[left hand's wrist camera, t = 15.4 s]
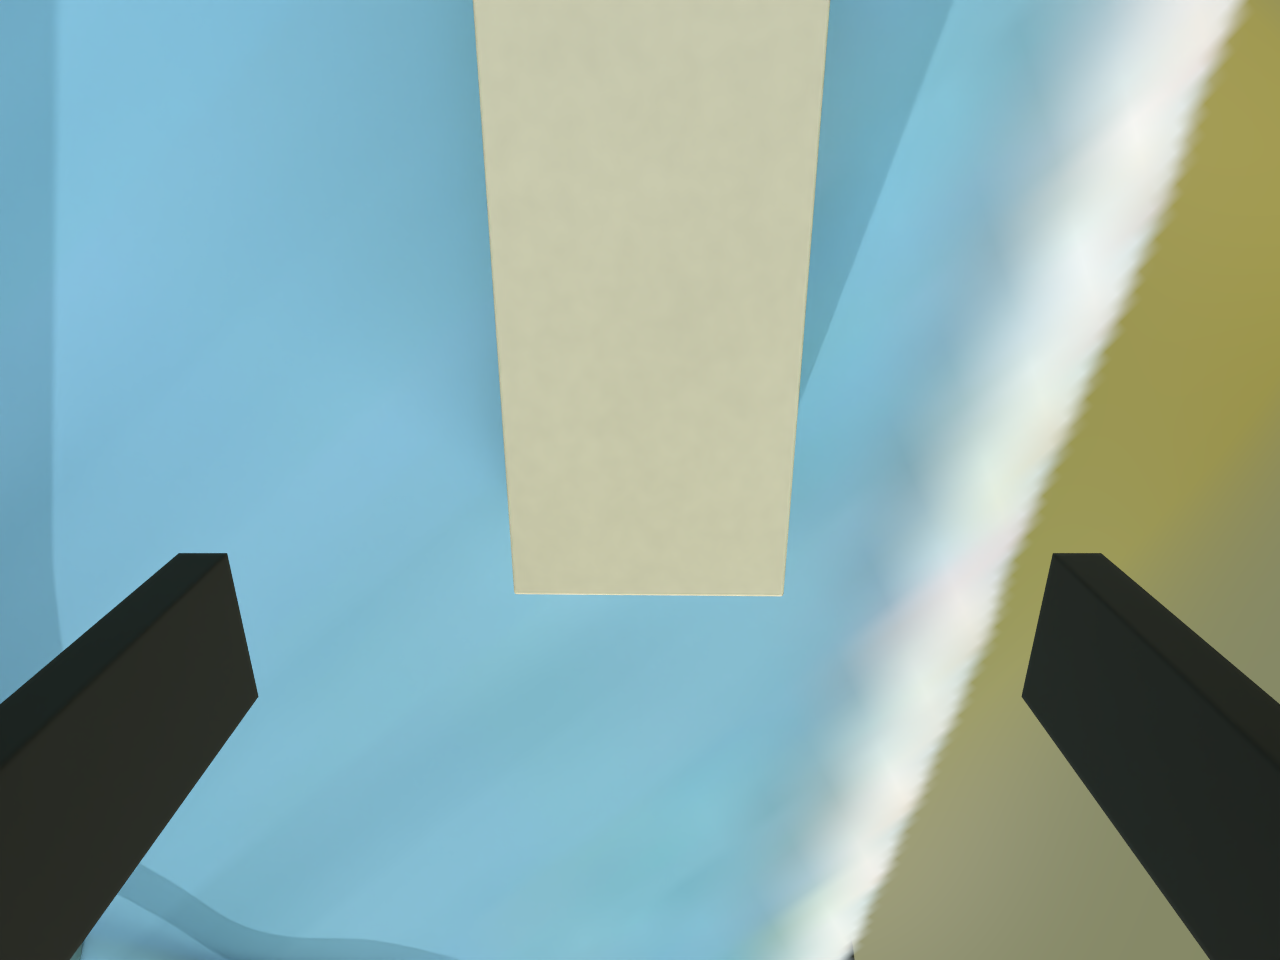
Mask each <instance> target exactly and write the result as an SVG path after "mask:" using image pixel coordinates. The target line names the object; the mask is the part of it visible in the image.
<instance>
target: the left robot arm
mask: <svg viewBox="0 0 1280 960" xmlns="http://www.w3.org/2000/svg"><path fill="white" fill-rule="evenodd" d="M257 698H258V693H257V688H256V683H255V679H254V674H253V670H252V665H251V661H250V656H249V651H248V647H247V642H246V638H245V633H244V629H243V624H242V619H241V615H240V610H239V606H238V601H237V597H236V592H235V587H234V583H233V578H232V574H231V569H230V565H229V560H228V555H227V553H179V554H177V555H176V556H175V557H174V558H173V559H172V560H170V561H169V562H168V563H167V564H166V565H164V566H163V567H162V568H161V569H160V570H159V571H157V572H156V573H155V574H154V575H153V576H151V577H150V578H149V579H148V580H147V581H146V582H144V583H143V584H142V585H141V586H140V587H138V588H137V589H136V590H135V591H134V592H133V593H131V594H130V595H129V596H128V597H127V598H125V599H124V600H123V601H122V602H121V603H120V604H118V605H117V606H116V607H115V608H114V609H112V610H111V611H110V612H109V613H108V614H107V615H105V616H104V617H103V618H102V619H101V620H99V621H98V622H97V623H96V624H95V625H93V626H92V627H91V628H90V629H89V630H88V631H86V632H85V633H84V634H83V635H82V636H80V637H79V638H78V639H77V640H76V641H75V642H73V643H72V644H71V645H70V646H69V647H67V648H66V649H65V650H64V651H63V652H62V653H60V654H59V655H58V656H57V657H56V658H54V659H53V660H52V661H51V662H50V663H49V664H47V665H46V666H45V667H44V668H43V669H41V670H40V671H39V672H38V673H37V674H36V675H34V676H33V677H32V678H31V679H30V680H28V681H27V682H26V683H25V684H24V685H23V686H21V687H20V688H19V689H18V690H17V691H15V692H14V693H13V694H12V695H11V696H10V697H8V698H7V699H6V700H5V701H4V702H2V703H1V704H0V960H80V957H81V952H82V942H83V941H84V939H85V938H86V937H87V935H88V934H89V932H90V931H91V930H92V928H93V927H94V925H95V924H96V923H97V921H98V920H99V918H100V917H101V916H102V914H103V913H104V911H105V910H106V909H107V907H108V906H109V904H110V903H111V902H112V900H113V899H114V897H115V896H116V895H117V893H118V892H119V891H120V889H121V888H122V886H123V885H124V884H125V882H126V881H127V879H128V878H129V877H130V875H131V874H132V872H133V871H134V870H135V868H136V867H137V865H138V864H139V863H140V861H141V860H142V858H143V857H144V856H145V854H146V853H147V851H148V850H149V849H150V847H151V846H152V844H153V843H154V842H155V840H156V839H157V837H158V836H159V835H160V833H161V832H162V830H163V829H164V828H165V826H166V825H167V823H168V822H169V821H170V819H171V818H172V816H173V815H174V814H175V812H176V811H177V810H178V808H179V807H180V805H181V804H182V803H183V801H184V800H185V798H186V797H187V796H188V794H189V793H190V791H191V790H192V789H193V787H194V786H195V784H196V783H197V782H198V780H199V779H200V777H201V776H202V775H203V773H204V772H205V770H206V769H207V768H208V766H209V765H210V763H211V762H212V761H213V759H214V758H215V756H216V755H217V754H218V752H219V751H220V749H221V748H222V747H223V745H224V744H225V742H226V741H227V740H228V738H229V737H230V735H231V734H232V733H233V731H234V730H235V728H236V727H237V726H238V724H239V723H240V722H241V720H242V719H243V717H244V716H245V715H246V713H247V712H248V710H249V709H250V708H251V706H252V705H253V703H254V702H255V701H256V699H257ZM1022 698H1023V699H1024V701H1025V702H1026V703H1027V705H1028V706H1029V708H1030V709H1031V710H1032V712H1033V713H1034V715H1035V716H1036V717H1037V719H1038V720H1039V722H1040V723H1041V724H1042V726H1043V727H1044V728H1045V730H1046V731H1047V733H1048V734H1049V735H1050V737H1051V738H1052V740H1053V741H1054V742H1055V744H1056V745H1057V747H1058V748H1059V749H1060V751H1061V752H1062V754H1063V755H1064V756H1065V758H1066V759H1067V761H1068V762H1069V763H1070V765H1071V766H1072V768H1073V769H1074V770H1075V772H1076V773H1077V775H1078V776H1079V777H1080V779H1081V780H1082V782H1083V783H1084V784H1085V786H1086V787H1087V789H1088V790H1089V791H1090V793H1091V794H1092V795H1093V797H1094V798H1095V800H1096V801H1097V803H1098V804H1099V805H1100V807H1101V808H1102V810H1103V811H1104V812H1105V814H1106V815H1107V816H1108V818H1109V819H1110V821H1111V822H1112V823H1113V825H1114V826H1115V828H1116V829H1117V830H1118V832H1119V833H1120V835H1121V836H1122V837H1123V839H1124V840H1125V842H1126V843H1127V844H1128V846H1129V847H1130V849H1131V850H1132V851H1133V853H1134V854H1135V856H1136V857H1137V858H1138V860H1139V861H1140V863H1141V864H1142V865H1143V867H1144V868H1145V870H1146V871H1147V872H1148V874H1149V875H1150V876H1151V878H1152V879H1153V881H1154V882H1155V884H1156V885H1157V886H1158V888H1159V889H1160V891H1161V892H1162V893H1163V895H1164V896H1165V897H1166V899H1167V900H1168V902H1169V903H1170V904H1171V906H1172V907H1173V909H1174V910H1175V911H1176V913H1177V914H1178V916H1179V917H1180V918H1181V920H1182V921H1183V923H1184V924H1185V925H1186V927H1187V928H1188V930H1189V931H1190V932H1191V934H1192V935H1193V937H1194V938H1195V939H1196V941H1197V942H1198V944H1199V945H1200V946H1201V948H1202V949H1203V951H1204V952H1205V953H1206V955H1207V956H1208V958H1209V959H1210V960H1280V704H1279V703H1277V702H1276V701H1275V700H1274V699H1273V698H1272V697H1270V696H1269V695H1268V694H1267V693H1266V692H1265V691H1263V690H1262V689H1261V688H1260V687H1259V686H1257V685H1256V684H1255V683H1254V682H1253V681H1252V680H1250V679H1249V678H1248V677H1247V676H1246V675H1244V674H1243V673H1242V672H1241V671H1240V670H1239V669H1237V668H1236V667H1235V666H1234V665H1233V664H1231V663H1230V662H1229V661H1228V660H1227V659H1226V658H1224V657H1223V656H1222V655H1221V654H1220V653H1218V652H1217V651H1216V650H1215V649H1214V648H1212V647H1211V646H1210V645H1209V644H1208V643H1207V642H1205V641H1204V640H1203V639H1202V638H1201V637H1199V636H1198V635H1197V634H1196V633H1195V632H1194V631H1192V630H1191V629H1190V628H1189V627H1188V626H1186V625H1185V624H1184V623H1183V622H1182V621H1181V620H1179V619H1178V618H1177V617H1176V616H1175V615H1173V614H1172V613H1171V612H1170V611H1169V610H1168V609H1166V608H1165V607H1164V606H1163V605H1162V604H1160V603H1159V602H1158V601H1157V600H1156V599H1154V598H1153V597H1152V596H1151V595H1150V594H1149V593H1147V592H1146V591H1145V590H1144V589H1143V588H1142V587H1140V586H1139V585H1138V584H1137V583H1136V582H1134V581H1133V580H1132V579H1131V578H1130V577H1128V576H1127V575H1126V574H1125V573H1124V572H1123V571H1121V570H1120V569H1119V568H1118V567H1117V566H1116V565H1114V564H1113V563H1112V562H1111V561H1110V560H1108V559H1107V558H1106V557H1105V556H1104V555H1103V554H1101V553H1053V555H1052V560H1051V565H1050V569H1049V574H1048V578H1047V583H1046V587H1045V592H1044V597H1043V601H1042V606H1041V610H1040V615H1039V619H1038V624H1037V629H1036V633H1035V638H1034V642H1033V647H1032V651H1031V656H1030V661H1029V665H1028V670H1027V674H1026V679H1025V683H1024V688H1023V693H1022ZM845 960H855V959H854V951H853V947H852V950H851V952H850V953H849V955H848V956H847V958H846V959H845Z"/></svg>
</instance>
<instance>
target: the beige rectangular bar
mask: <svg viewBox="0 0 1280 960" xmlns="http://www.w3.org/2000/svg"><path fill="white" fill-rule="evenodd" d="M829 8H830V0H473V9H474V23H475V38H476V52H477V66H478V81H479V95H480V109H481V124H482V138H483V152H484V166H485V181H486V195H487V209H488V224H489V238H490V252H491V267H492V281H493V295H494V310H495V324H496V338H497V353H498V367H499V381H500V395H501V410H502V424H503V438H504V453H505V467H506V481H507V496H508V510H509V524H510V539H511V553H512V567H513V582H514V592H515V594H583V595H704V596H782V595H783V591H784V578H785V566H786V553H787V540H788V528H789V515H790V502H791V490H792V477H793V464H794V452H795V439H796V426H797V414H798V401H799V388H800V376H801V363H802V350H803V337H804V325H805V312H806V299H807V287H808V274H809V261H810V249H811V236H812V223H813V211H814V198H815V185H816V173H817V160H818V147H819V134H820V122H821V109H822V96H823V84H824V71H825V58H826V46H827V33H828V20H829Z"/></svg>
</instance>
